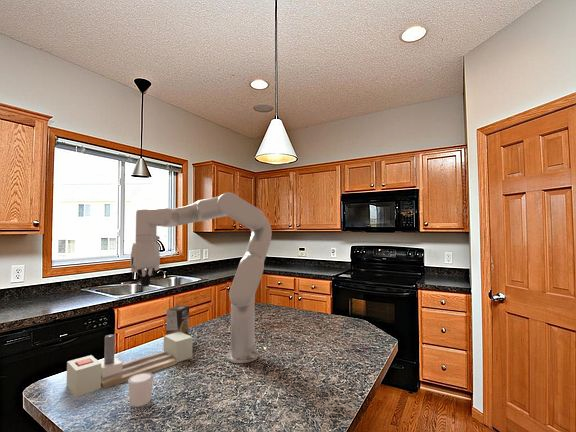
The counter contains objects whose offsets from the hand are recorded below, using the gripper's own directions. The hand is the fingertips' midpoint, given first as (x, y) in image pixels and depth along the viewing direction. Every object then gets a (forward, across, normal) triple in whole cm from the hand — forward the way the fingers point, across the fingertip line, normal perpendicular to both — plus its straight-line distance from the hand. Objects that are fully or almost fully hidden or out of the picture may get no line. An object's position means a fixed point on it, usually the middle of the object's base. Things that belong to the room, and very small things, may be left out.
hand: (145, 285), depth 123 cm
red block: (+25, +22, +6) cm, 34 cm away
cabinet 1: (+29, +22, +6) cm, 37 cm away
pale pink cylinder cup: (+29, +13, +28) cm, 43 cm away
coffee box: (+29, -18, -7) cm, 35 cm away
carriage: (+26, +14, +6) cm, 31 cm away
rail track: (+29, +6, +6) cm, 30 cm away
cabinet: (+29, -11, +6) cm, 32 cm away
